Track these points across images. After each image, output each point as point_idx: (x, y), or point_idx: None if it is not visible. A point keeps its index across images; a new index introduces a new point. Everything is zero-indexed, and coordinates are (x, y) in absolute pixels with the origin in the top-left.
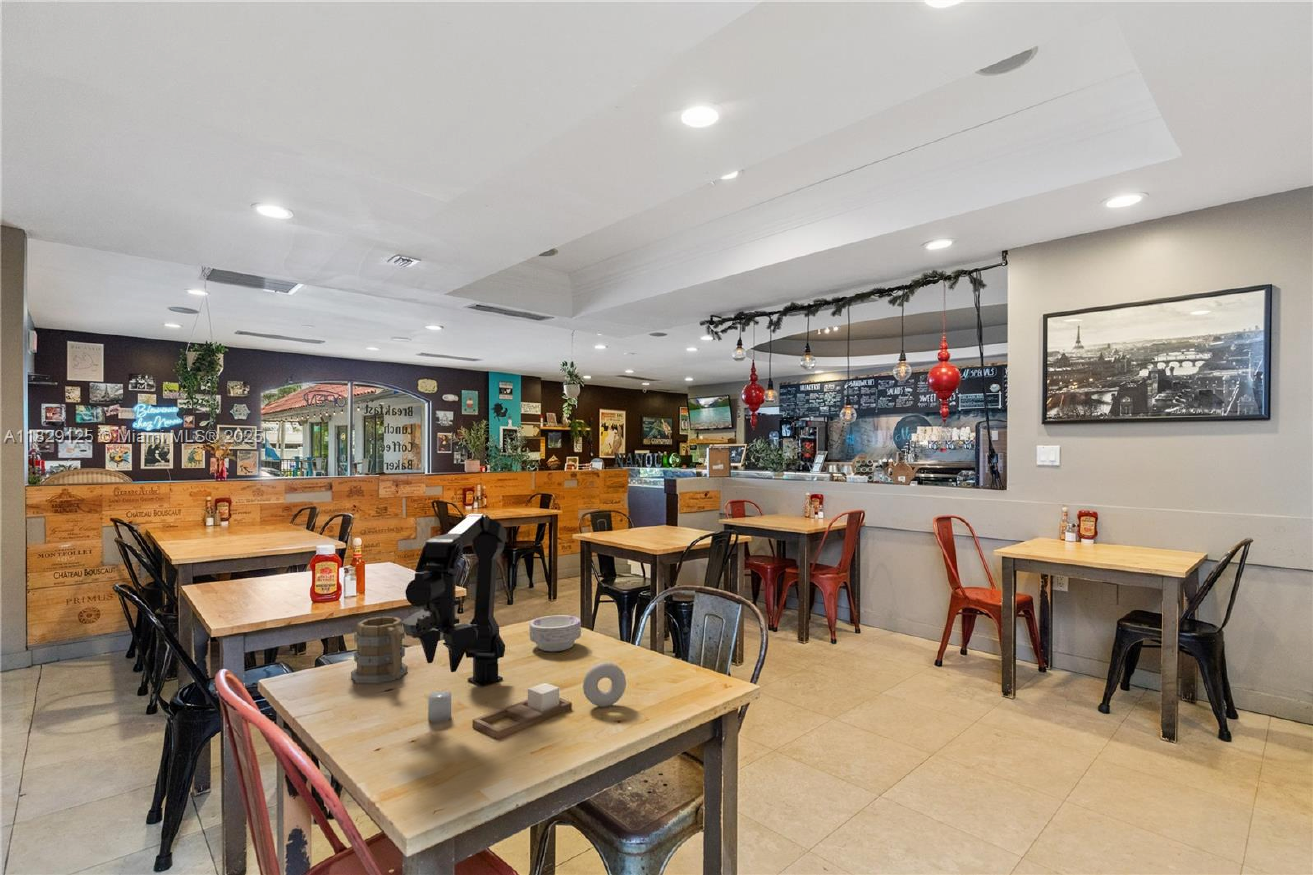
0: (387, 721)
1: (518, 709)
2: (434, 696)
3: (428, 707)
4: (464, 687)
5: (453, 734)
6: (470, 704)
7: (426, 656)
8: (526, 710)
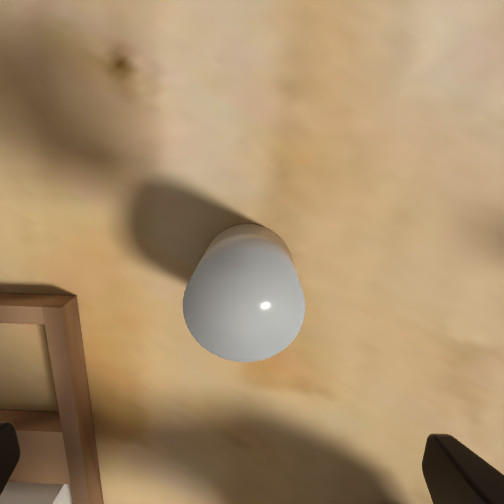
0: (403, 102)
1: (32, 453)
2: (250, 281)
3: (265, 240)
4: None
5: (64, 213)
6: (267, 403)
7: (501, 495)
8: None
